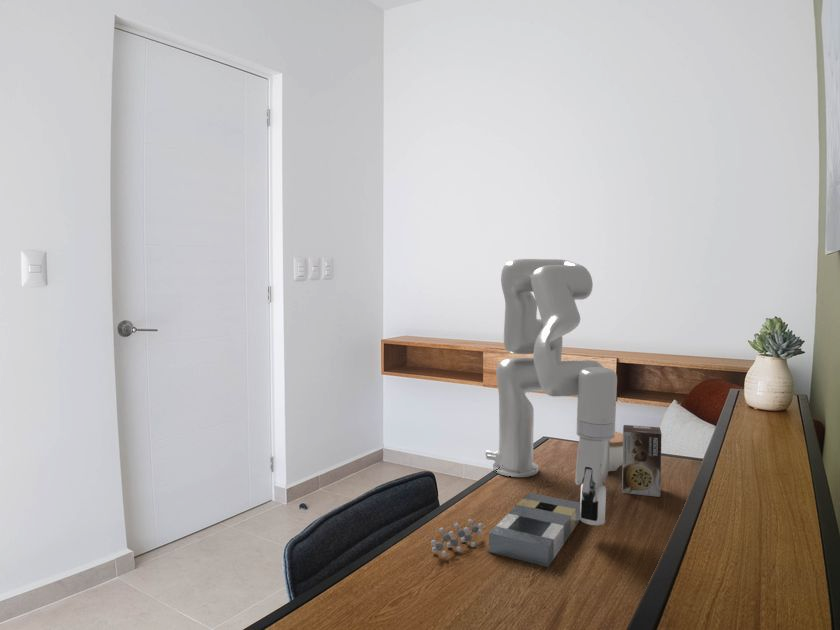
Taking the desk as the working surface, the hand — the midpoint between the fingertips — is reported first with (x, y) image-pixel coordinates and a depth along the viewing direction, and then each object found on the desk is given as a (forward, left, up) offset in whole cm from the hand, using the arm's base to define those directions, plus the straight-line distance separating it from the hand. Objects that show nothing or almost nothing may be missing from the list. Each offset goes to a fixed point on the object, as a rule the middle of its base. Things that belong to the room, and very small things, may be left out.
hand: (592, 512), depth 121 cm
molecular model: (-23, -17, -6) cm, 29 cm away
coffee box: (+4, +34, -6) cm, 34 cm away
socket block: (-11, -3, -6) cm, 13 cm away
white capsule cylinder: (0, 0, -2) cm, 2 cm away
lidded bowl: (-7, +47, -6) cm, 48 cm away
